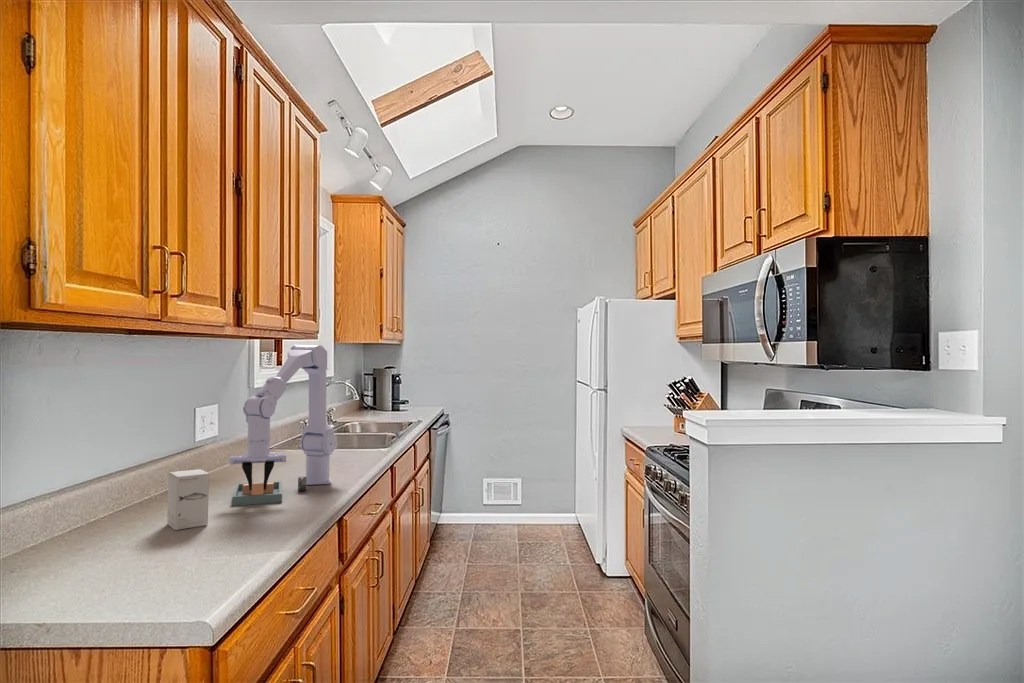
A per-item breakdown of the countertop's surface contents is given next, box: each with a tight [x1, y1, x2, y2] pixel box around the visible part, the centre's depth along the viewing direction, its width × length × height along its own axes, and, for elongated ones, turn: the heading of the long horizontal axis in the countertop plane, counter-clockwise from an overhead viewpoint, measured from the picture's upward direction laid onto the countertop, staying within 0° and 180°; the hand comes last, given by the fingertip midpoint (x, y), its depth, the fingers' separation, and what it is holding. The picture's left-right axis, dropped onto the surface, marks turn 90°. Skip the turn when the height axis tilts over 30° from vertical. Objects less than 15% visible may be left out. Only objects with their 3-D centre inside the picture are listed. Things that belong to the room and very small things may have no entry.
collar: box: [242, 482, 274, 495], centre depth 179 cm, size 12×8×3 cm, turn 20°
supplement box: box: [166, 469, 210, 531], centre depth 153 cm, size 7×7×13 cm
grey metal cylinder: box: [297, 476, 307, 493], centre depth 189 cm, size 2×2×4 cm
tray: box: [231, 480, 283, 506], centre depth 181 cm, size 17×13×2 cm
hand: (257, 489), depth 176 cm, fingers closed on collar, 3 cm apart
